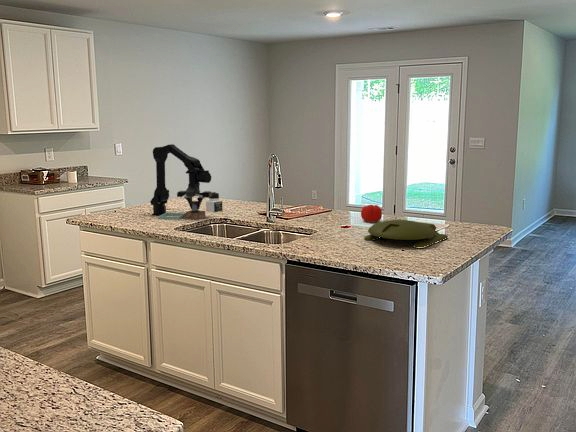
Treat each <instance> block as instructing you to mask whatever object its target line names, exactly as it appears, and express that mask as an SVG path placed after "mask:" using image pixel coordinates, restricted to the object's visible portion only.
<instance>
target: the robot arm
mask: <svg viewBox="0 0 576 432" xmlns="http://www.w3.org/2000/svg"><path fill="white" fill-rule="evenodd" d="M168 154H171V155H173V156H174V157H175V158H177V159H178V160H179V161H181V162H182V163H183V165H184V166H185V168H186V169H187V170H186V171H185V174H187V175H188V185H187V186H188V187H187V188H186V190H179V191H178V192H176V197H177V198H182V197H183V199H186V201H187V203H188V205H189V208H190V210H192V201H193V198H194V197H196V196H197V201H198V210H199V209H200V207H201V204H202V202H203V200H204V199H205V198H206V199H207V198H208V199H209V197H211V196H212V192H213V191H210V190H207V191H206V190H205V191H203V192H201V190H200V185H201V184H200V183H202V184H203V183H205V184H209V183H211V181H212V175H211V173H210V170H205V168H204V166H203V165H202V163H201V161H200V159H198V158H196V157H194V156H190V155H188V154H187V153H186V152H184V151H183V150H181V149H180V148H179V147H177V146H176V145H175V144H174V143H171V144H167V145H164V146H155V147H154V148H153V149H152V155H153V160H154V161H155V166H156V168H155V169H156V172H155V173H156V187H155V189H154V191H153V192H154V193H153V197H152V198H151V199H150V201H149V202H150V205H151V206H152V210H153V213H152V214H151V215H152V216H160V215H162V214H164V213H167V206H166V204H167V203H168V200H169V199H170V190H169V189H167V187H166V161H167V159H168Z"/></svg>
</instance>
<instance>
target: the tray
mask: <svg viewBox="0 0 576 432" xmlns="http://www.w3.org/2000/svg"><path fill="white" fill-rule="evenodd" d="M185 213H186V212H185ZM185 213H184V212H166V213H164V214H162V215H157V219H158V220H172V221H180V220H182V219H183V218H185Z"/></svg>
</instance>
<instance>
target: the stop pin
mask: <svg viewBox="0 0 576 432" xmlns="http://www.w3.org/2000/svg"><path fill="white" fill-rule="evenodd" d="M191 210H192V213H198V211H199V209H198V200H192V209H191Z"/></svg>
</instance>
